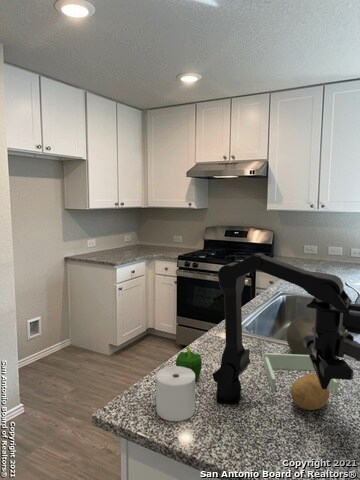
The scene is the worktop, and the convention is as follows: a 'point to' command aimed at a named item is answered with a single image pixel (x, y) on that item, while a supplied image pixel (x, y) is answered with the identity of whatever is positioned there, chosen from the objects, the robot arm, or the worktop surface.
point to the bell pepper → (190, 361)
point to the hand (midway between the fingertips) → (323, 388)
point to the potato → (309, 392)
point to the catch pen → (290, 367)
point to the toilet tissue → (175, 393)
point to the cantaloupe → (300, 334)
